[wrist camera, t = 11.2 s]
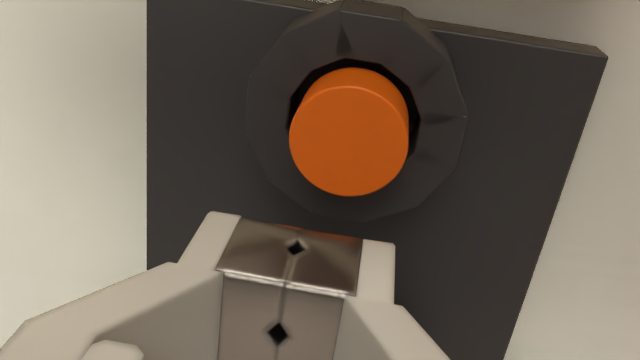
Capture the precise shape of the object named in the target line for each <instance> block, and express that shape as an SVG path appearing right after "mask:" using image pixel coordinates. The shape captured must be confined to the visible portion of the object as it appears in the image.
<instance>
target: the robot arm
mask: <svg viewBox="0 0 640 360" xmlns="http://www.w3.org/2000/svg"><path fill="white" fill-rule="evenodd" d="M394 281H395V245H394V244H393V243H388V242H381V241H374V240H367V239H363V241H362V239H361V238H355V237H349V236H342V235H336V234H330V233H323V232H317V231H311V230H304V229H302V228H297V227H292V226H288V225H283V224H278V223H273V222H268V221H263V220H258V219H253V218H248V217H241V216H240V215H234V214H228V213H222V212H216V211H211V212H209V213H208V214H207V215H206V217H205V219H204V220H203V222H202V223H201V225H200V227H199V228H198V230H197V232H196V233H195V235H194V237H193V238H192V240H191V241H190V243H189V245H188V246H187V248H186V250H185V251H184V253H183V255H182V256H181V258H180V259H179V261H178V263H172V262H167V263H164V264H162V265H159V266H157V267H154V268H152V269H150V270H147V271H145V272H142V273H140V274H137V275H135V276H133V277H130V278H128V279H125V280H123V281H120V282H118V283H116V284H113V285H111V286H108V287H106V288H103V289H101V290H99V291H96V292H94V293H91V294H89V295H87V296H84V297H82V298H79V299H77V300H74V301H72V302H70V303H67V304H65V305H62V306H60V307H57V308H55V309H53V310H50V311H48V312H45V313H43V314H40V315H38V316H36V317H33V318H31V319H28V320H26V321H25V322H24V323H23V324H22V325H21V326H20V327H19V328H18V329H17V331H16V332H15V333H14V334H13V335H12V336H11V337H10V339H9V340H8V341H7V342H6V343H5V344H4V345H3V346H2V348H1V349H0V360H450V359H449V358H448V356H447V355H446V354H445V353H444V352H443V351H442V350H441V348H440V347H439V346H438V345H437V344H436V343H435V342H434V341H433V339H432V338H431V337H430V336H429V335H428V334H427V333H426V332H425V330H424V329H423V328H422V327H421V326H420V325H419V324H418V322H417V321H416V320H415V319H414V318H413V317H412V316H411V315H410V313H409V312H408V311H407V310H406V309H405V308H404V307H403V306H400V305H395V304H394Z"/></svg>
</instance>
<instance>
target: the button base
mask: <svg viewBox="0 0 640 360" xmlns="http://www.w3.org/2000/svg"><path fill="white" fill-rule="evenodd" d="M607 60H608V56H607V55H606V54H604V53H603V52H602V51H601V50H600V49H599V48H597V47H596V46H590V45H584V44H577V43H571V42H565V41H558V40H552V39H546V38H540V37H533V36H527V35H521V34H514V33H508V32H502V31H495V30H489V29H483V28H476V27H470V26H464V25H457V24H451V23H445V22H438V21H432V20H426V19H419V18H416V17H414V16H413V15H412V14H411V13H410V12H409V11H407V10H406V9H405V8H402V7H400V6H393V5H387V4H381V3H374V2H368V1H361V0H340V1H337V2H335V3H332V4H325V3H318V2H312V1H306V0H147V270H150V269H152V268H154V267H157V266H159V265H162V264H164V263H167V262H172V263H178V261H179V259H180V258H181V256H182V255H183V253H184V251H185V250H186V248H187V246H188V245H189V243H190V241H191V240H192V238H193V237H194V235H195V233H196V232H197V230H198V228H199V227H200V225H201V223H202V222H203V220H204V219H205V217H206V215H207V214H208V213H209V212H211V211H216V212H222V213H228V214H234V215H240V216H241V217H248V218H253V219H258V220H263V221H268V222H273V223H278V224H283V225H288V226H292V227H297V228H302V229H304V230H311V231H317V232H323V233H330V234H336V235H342V236H349V237H355V238H361V239H362V241H363V239H367V240H374V241H381V242H388V243H393V244H394V245H395V281H394V304H395V305H400V306H403V307H404V308H405V309H406V310H407V311H408V312H409V313H410V315H411V316H412V317H413V318H414V319H415V320H416V321H417V322H418V324H419V325H420V326H421V327H422V328H423V329H424V330H425V332H426V333H427V334H428V335H429V336H430V337H431V338H432V339H433V341H434V342H435V343H436V344H437V345H438V346H439V347H440V348H441V350H442V351H443V352H444V353H445V354H446V355H447V356H448V358H449V359H450V360H503V359H504V356H505V353H506V350H507V347H508V344H509V341H510V339H511V336H512V333H513V330H514V327H515V324H516V321H517V319H518V316H519V313H520V310H521V307H522V304H523V301H524V298H525V296H526V293H527V290H528V287H529V284H530V281H531V278H532V275H533V273H534V270H535V267H536V264H537V261H538V258H539V255H540V253H541V250H542V247H543V244H544V241H545V238H546V235H547V232H548V230H549V227H550V224H551V221H552V218H553V215H554V212H555V210H556V207H557V204H558V201H559V198H560V195H561V192H562V189H563V187H564V184H565V181H566V178H567V175H568V172H569V169H570V166H571V164H572V161H573V158H574V155H575V152H576V149H577V146H578V144H579V141H580V138H581V135H582V132H583V129H584V126H585V123H586V121H587V118H588V115H589V112H590V109H591V106H592V103H593V101H594V98H595V95H596V92H597V89H598V86H599V83H600V80H601V78H602V75H603V72H604V69H605V66H606V63H607ZM347 67H358V68H365V69H369V70H372V71H375V72H377V73H379V74H381V75H383V76H384V77H386V78H387V79H388V80H390V81H391V82H392V83H393V84H394V85H395V86H396V87H397V89H398V90H399V91H400V93H401V94H402V96H403V98H404V100H405V102H406V105H407V109H408V115H409V142H408V153H407V156H406V160H405V162H404V164H403V167H402V168H401V170H400V172H399V173H398V174H397V175H396V177H395V178H394V179H393V180H392V181H391V182H390V183H388V184H387V185H386V186H384V187H383V188H381V189H379V190H377V191H375V192H372V193H370V194H366V195H362V196H339V195H335V194H331V193H328V192H326V191H324V190H322V189H320V188H318V187H316V186H315V185H313V184H312V183H311V182H310V181H308V180H307V179H306V178H305V177H304V176H303V174H302V173H301V172H300V171H299V169H298V168H297V166H296V164H295V162H294V160H293V158H292V155H291V151H290V147H289V131H290V126H291V123H292V120H293V117H294V115H295V113H296V111H297V109H298V108H299V106H300V104H301V102H302V100H303V98H304V96H305V94H306V92H307V91H308V89H309V88H310V87H311V86H312V84H313V83H314V82H315V81H317V80H318V79H319V78H320V77H322V76H323V75H325V74H327V73H329V72H331V71H333V70H337V69H340V68H347Z"/></svg>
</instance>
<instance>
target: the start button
mask: <svg viewBox="0 0 640 360" xmlns="http://www.w3.org/2000/svg"><path fill="white" fill-rule="evenodd" d="M408 142H409V115H408V109H407V105H406V102H405V100H404V98H403V96H402V94H401V93H400V91H399V90H398V89H397V87H396V86H395V85H394V84H393V83H392V82H391V81H390V80H388V79H387V78H386V77H384V76H383V75H381V74H379V73H377V72H375V71H372V70H369V69H365V68H358V67H347V68H340V69H337V70H333V71H331V72H329V73H327V74H325V75H323V76H322V77H320V78H319V79H318V80H317V81H315V82H314V83H313V84H312V86H311V87H310V88H309V89H308V91H307V92H306V94H305V96H304V98H303V100H302V102H301V104H300V106H299V108H298V109H297V111H296V113H295V115H294V117H293V120H292V123H291V126H290V131H289V147H290V151H291V155H292V158H293V160H294V162H295V164H296V166H297V168H298V169H299V171H300V172H301V173H302V174H303V176H304V177H305V178H306V179H307V180H308V181H310V182H311V183H312V184H313V185H315V186H316V187H318V188H320V189H322V190H324V191H326V192H328V193H331V194H335V195H339V196H362V195H366V194H370V193H372V192H375V191H377V190H379V189H381V188H383V187H384V186H386V185H387V184H388V183H390V182H391V181H392V180H393V179H394V178H395V177H396V175H397V174H398V173H399V172H400V170H401V168H402V167H403V164H404V162H405V160H406V156H407V153H408Z"/></svg>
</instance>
